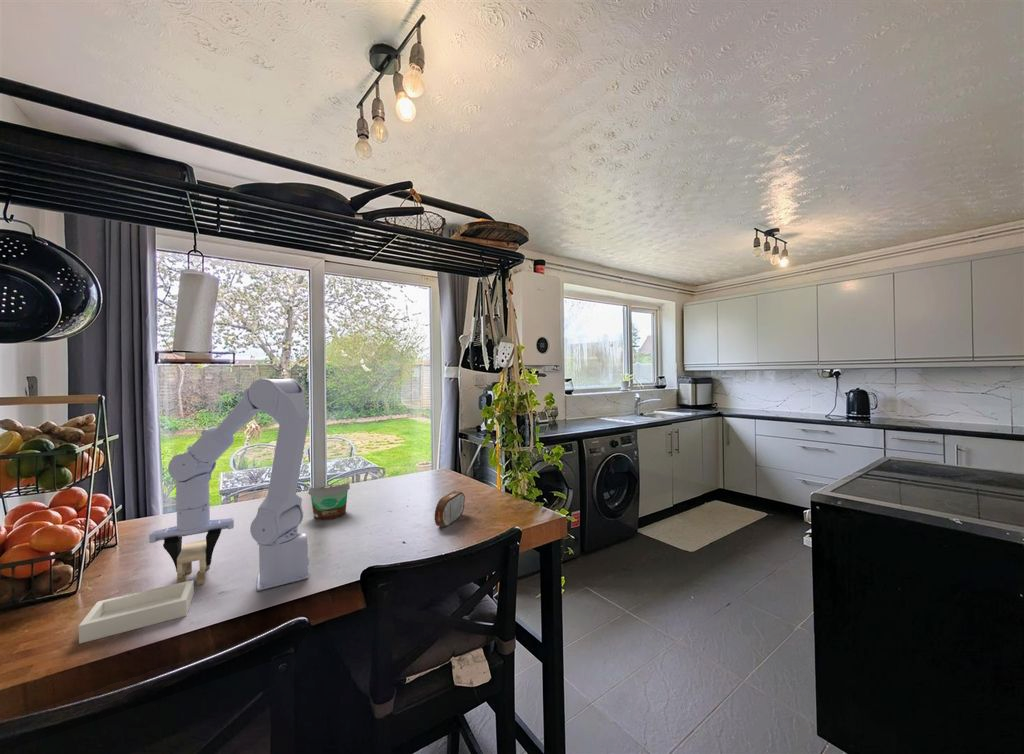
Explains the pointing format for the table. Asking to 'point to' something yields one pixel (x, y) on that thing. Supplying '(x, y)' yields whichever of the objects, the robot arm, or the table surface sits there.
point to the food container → (329, 501)
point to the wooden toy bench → (190, 554)
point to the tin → (449, 508)
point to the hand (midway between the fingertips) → (194, 566)
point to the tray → (136, 611)
